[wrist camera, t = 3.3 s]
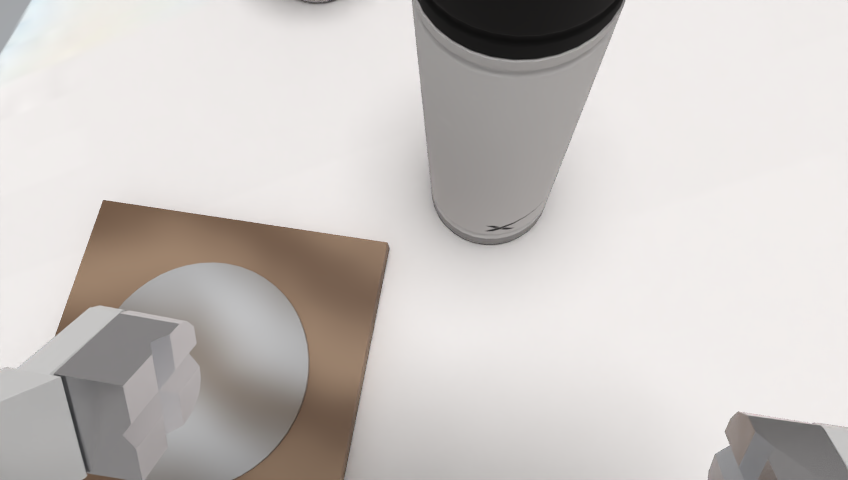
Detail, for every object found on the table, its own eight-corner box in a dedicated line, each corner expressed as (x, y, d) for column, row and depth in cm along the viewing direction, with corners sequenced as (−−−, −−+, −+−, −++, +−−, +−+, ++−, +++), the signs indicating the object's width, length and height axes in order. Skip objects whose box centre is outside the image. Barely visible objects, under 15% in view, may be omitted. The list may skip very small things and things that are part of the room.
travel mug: (521, 268, 31) (622, 18, 12) (412, 214, 33) (349, -87, 14) (570, 171, 33) (727, -185, 14) (463, 123, 34) (473, -263, 15)
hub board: (324, 576, 27) (318, 583, 26) (7, 509, 29) (-13, 513, 28) (389, 248, 32) (386, 240, 31) (113, 206, 34) (100, 198, 32)
